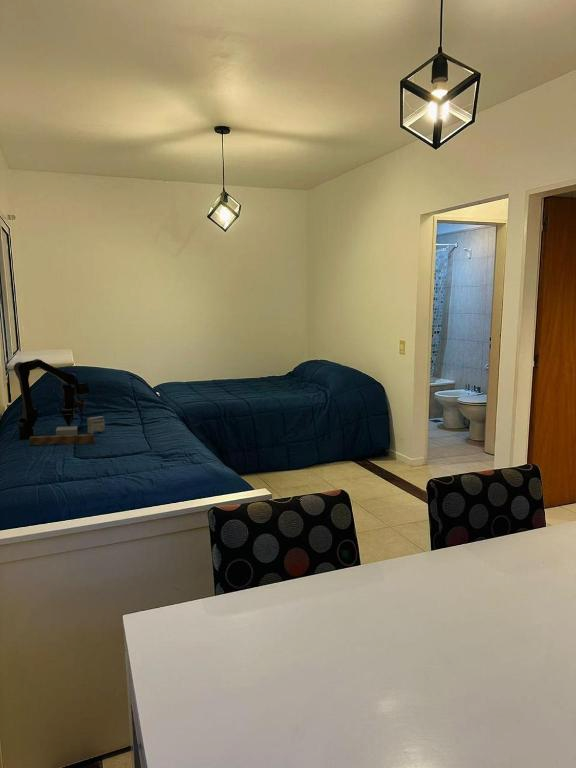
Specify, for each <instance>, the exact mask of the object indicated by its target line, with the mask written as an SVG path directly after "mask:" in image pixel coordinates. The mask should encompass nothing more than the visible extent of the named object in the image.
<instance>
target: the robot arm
mask: <svg viewBox="0 0 576 768" xmlns="http://www.w3.org/2000/svg"><path fill="white" fill-rule="evenodd" d="M36 369H41V370H43V371H45V372H47V373H49V374H51V375H52V376H54V377H56V378H57V379H58V380H59V381H61V382H62V384H61V385H60V386H59V389H61V390H63V391H62V392H63V398H62V400H63V408H62V409H61V412H60V414H61V416H62V417H63V418H64V421H65V423H66V425H67V427H69V426H71V424H72V423H73V420H74V415H75V413H76V412H77V411H78V409H80V410H85V408H86V405H87V402H85V399H80V400H77V398H76V396H85V395H87V396H88V395H89V394H90V389H89V388H90V387H89V386H88V382H79V381H78V380H77V378H76V376H75V375H74V374H72V373H71V372H70V373H69V372H66V371H62V370H61V369H58V368H57V367H55V366H53V365H50V364H48V362H47V363H46V362H45V361H44V360H42V359H39V358H34V359H33V360H28V361H18V362H17V361H16V363H14V365H13V371H14V372H15V373H14V374H15V375H16V377H17V379H18V383H19V388H20V394H21V396H20V397H21V400H22V401H21V402H22V411H21V417H20V418H19V420H18V421H16V423H17V425H18V426H19V427H18V430H19V435H18V436H19V437H18V440H27V439H29V440H30V437H33V436H35V435H36V432H35V427H34V426H35V424H36V422H37V420H38V419H39V418H38V417H40V416H39V411H38V408H37V407H36V408H35V407H34V405H33V399H32V394H31V387H30V382H29V380H30V379H29V378H30V375H31V374H30V372H31V371H33V370H36ZM65 384H66V385H65Z"/></svg>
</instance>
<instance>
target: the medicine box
mask: <svg viewBox="0 0 576 768" xmlns="http://www.w3.org/2000/svg"><path fill="white" fill-rule="evenodd" d="M86 419H87V434H89V433H90V434H94V433H97V434H99V433H98V432H102V431H105V430H106V428H105V425H106V424H105V416H103V415H102V416H101V415H98V416H92V417H87V418H86ZM105 432H106V431H105ZM102 433H103V432H102Z"/></svg>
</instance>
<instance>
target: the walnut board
mask: <svg viewBox="0 0 576 768" xmlns="http://www.w3.org/2000/svg"><path fill="white" fill-rule="evenodd" d="M95 435H96V434H89V433H87V434H77V435H59V436H56V435H40V436H39V435H37V436H33V437H30V439H29V446H30V445H39V446H48V445H47V444H63V445H80V444H81V445H83V444H87V445H88V444H95V442H96V441H95V437H96V436H95Z"/></svg>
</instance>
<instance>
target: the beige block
mask: <svg viewBox="0 0 576 768" xmlns="http://www.w3.org/2000/svg"><path fill="white" fill-rule="evenodd" d="M59 435H78V426H77V425H75V426H74V425H73V426H71V425H70V426H57V427H56V429H55V436H59Z"/></svg>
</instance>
